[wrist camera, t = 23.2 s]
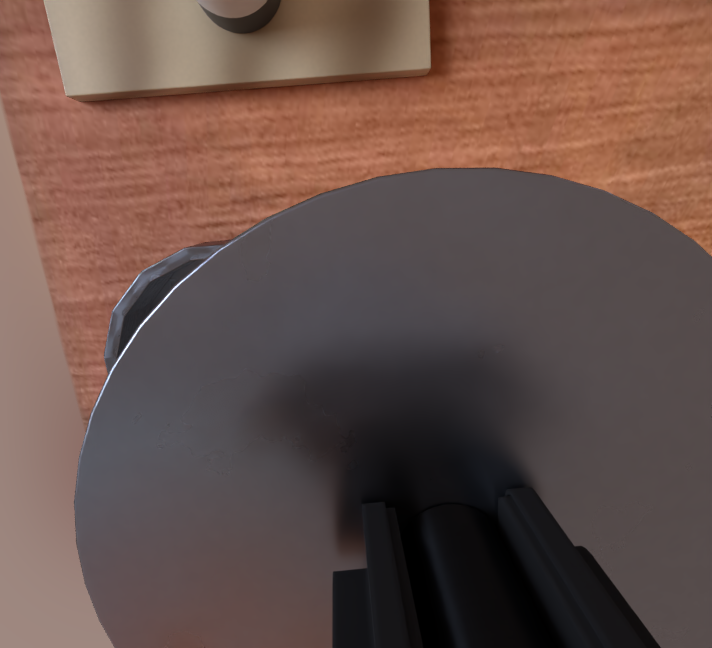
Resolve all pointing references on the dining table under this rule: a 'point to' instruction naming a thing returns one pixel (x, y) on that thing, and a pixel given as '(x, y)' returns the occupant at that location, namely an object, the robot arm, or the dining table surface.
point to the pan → (150, 294)
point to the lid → (408, 416)
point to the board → (232, 46)
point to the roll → (240, 13)
